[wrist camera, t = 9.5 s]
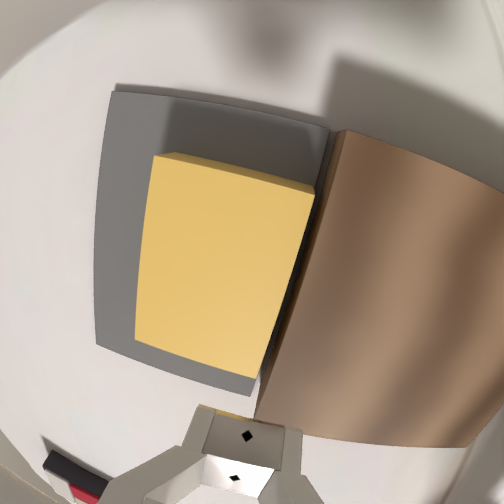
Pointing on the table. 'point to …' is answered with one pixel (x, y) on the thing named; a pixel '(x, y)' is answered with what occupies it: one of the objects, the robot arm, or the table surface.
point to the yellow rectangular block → (216, 259)
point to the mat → (136, 191)
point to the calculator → (73, 480)
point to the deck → (393, 306)
